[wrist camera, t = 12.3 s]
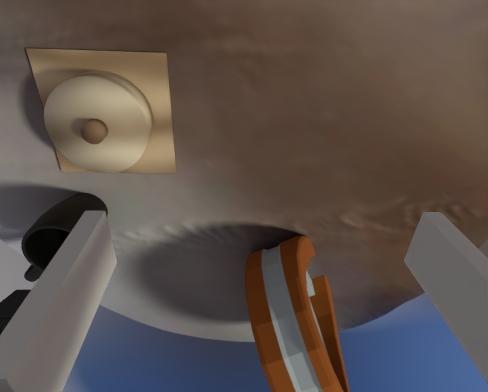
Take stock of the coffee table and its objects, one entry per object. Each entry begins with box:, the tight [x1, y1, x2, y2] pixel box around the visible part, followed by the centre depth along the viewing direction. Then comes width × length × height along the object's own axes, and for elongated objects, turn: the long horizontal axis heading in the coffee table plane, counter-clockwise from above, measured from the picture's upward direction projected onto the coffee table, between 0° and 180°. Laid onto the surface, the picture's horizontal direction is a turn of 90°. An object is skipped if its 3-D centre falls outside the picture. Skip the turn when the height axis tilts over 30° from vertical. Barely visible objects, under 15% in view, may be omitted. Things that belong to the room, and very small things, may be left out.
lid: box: [44, 70, 154, 173], centre depth 36 cm, size 11×11×6 cm
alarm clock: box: [245, 236, 350, 392], centre depth 45 cm, size 22×10×23 cm, turn 24°
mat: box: [26, 48, 176, 173], centre depth 39 cm, size 15×15×1 cm
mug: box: [21, 193, 108, 282], centre depth 42 cm, size 8×12×10 cm
